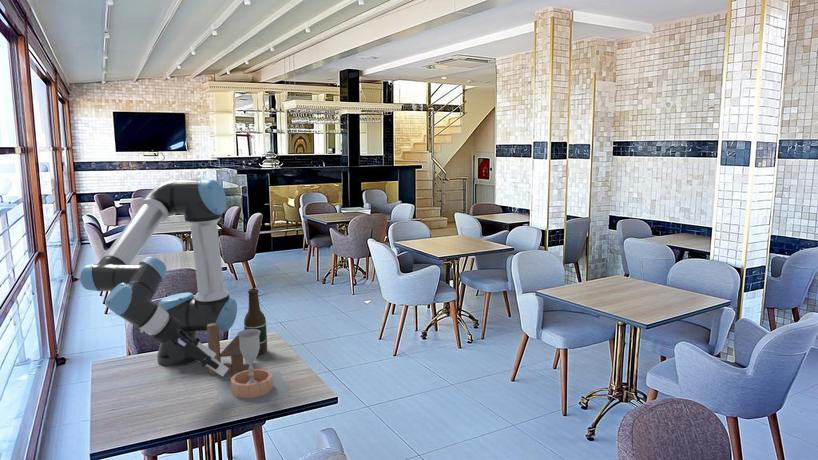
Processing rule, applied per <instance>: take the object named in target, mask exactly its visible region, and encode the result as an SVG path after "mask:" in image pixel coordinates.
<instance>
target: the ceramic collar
mask: <svg viewBox="0 0 818 460" xmlns="http://www.w3.org/2000/svg"><path fill="white" fill-rule="evenodd" d="M249 373H250V371H249V369H246V370H243V371H242V372H236V373H235V374H234V375H232V377H230V380H231V390H232V395H234V396H236V397H239V398H254V397H259V396H262V395H265V394H267V393H269V392H270V391H271V390H272V388H273V378H272V373H273V372H271V371H270V370H267V369H264V368H263V369H262V368H261V369H260V368H253V373H254V375H253V380H255V381H257V382H258V383H252V384H246V383H247V382H248V381H249V380H250V376H249V375H248V374H249Z"/></svg>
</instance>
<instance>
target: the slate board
mask: <svg viewBox="0 0 818 460" xmlns="http://www.w3.org/2000/svg"><path fill="white" fill-rule="evenodd" d="M271 373H272V378H273V388H272V390H271V391H270V392H269V393H267V394H265V395H262V396H259V397H254V398H239V397H236V396H234V395H232V390H231V379H228V380H223V381H222V380H221V381H216V382H215V385H216V392H217V397H218V399H219V400H218V401H219V406H220V410H227V409H231V408H237V407H242V406H248V405H254V404H258V403H259V404H260V403H264V402H270V401H275V400H281V399H282V400H283V399H286V398H292V395H291V392H290V391H289V388H288V387H287V385H286V382H285V380H284V378H283V376H282V374H281V372H280V371H276V372H271Z"/></svg>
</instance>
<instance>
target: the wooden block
mask: <svg viewBox="0 0 818 460" xmlns="http://www.w3.org/2000/svg"><path fill="white" fill-rule="evenodd" d="M206 334H207V345H208V347H207V348H209V349H210V350H212V351H213V352H214V353H216V355H215V357H214V359H216V360H217V361H219V362H220V363H222V359H221V358H225V357H230V361H231V364H230V363H227V362H226V363H222V364H223V365H225V366H226V367H228V368H229V369H228V371H227V372H226V373H225V374H231V373H232V374H233V373H239V372H242V371H244V367H245V366H244V357H243V355H242V353H241V351H240V342H239V336H238V335H236V336H235V337H234V338H233V339H232V341H230V343H228V345H227V346H226V347H225V348H224V349H223V350H222V351H221V343H220V332H219V326H218V324H217V323H210V324H208V325H207V333H206ZM208 375H209V376H215V375H219V374H218V373H216V372H215V371H213V370H212V369H210V368H209V367H208Z"/></svg>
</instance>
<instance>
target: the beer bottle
mask: <svg viewBox="0 0 818 460" xmlns="http://www.w3.org/2000/svg"><path fill="white" fill-rule="evenodd" d="M259 292H260V291H259V289H258V288H250V289H248V290H247V294H248V310H247V312H246V314H245V316H244V319H243V330H247V329H257V330H260V331H261V332H260V335H259V342H260V348H259V352H258V355H257V357H259V356H263V355H265V354H266V353H267V352H268V334H267V320H266V316H265V314H264V313H263V312H262V310H261V308H260V300H259Z"/></svg>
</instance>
